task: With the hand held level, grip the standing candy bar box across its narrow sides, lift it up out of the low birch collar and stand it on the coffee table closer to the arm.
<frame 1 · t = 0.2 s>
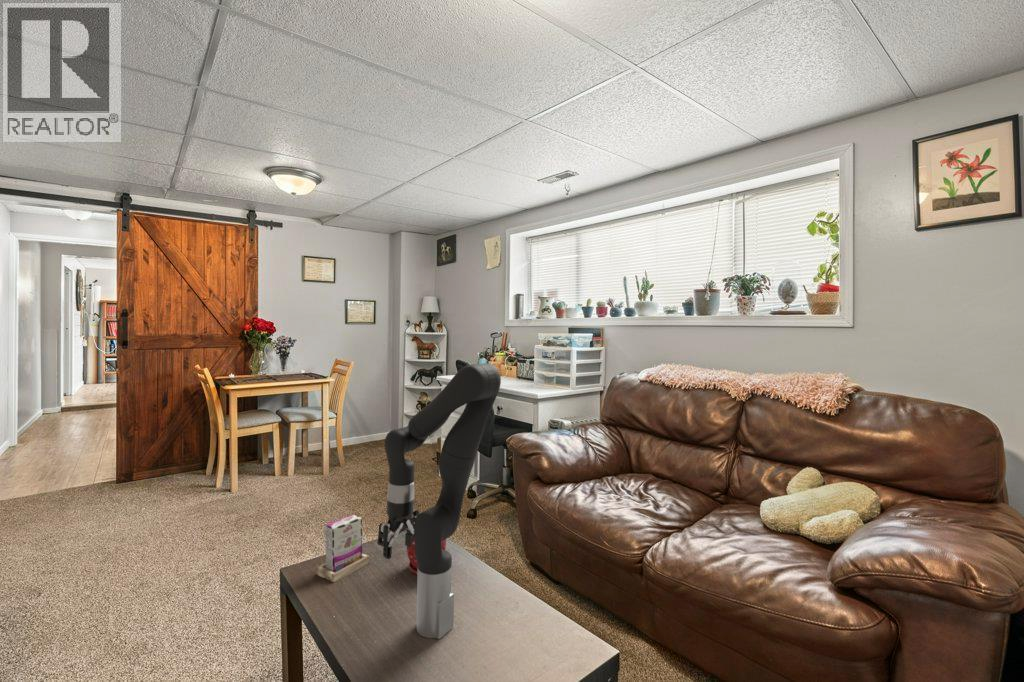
hand: (398, 551, 136), 17 cm above the table, tool pointing down, fingers open, 8 cm apart
plant pot: (426, 569, 160), on the table
candy bar box: (343, 569, 159), resting in birch collar
birch collar: (343, 568, 159), on the table
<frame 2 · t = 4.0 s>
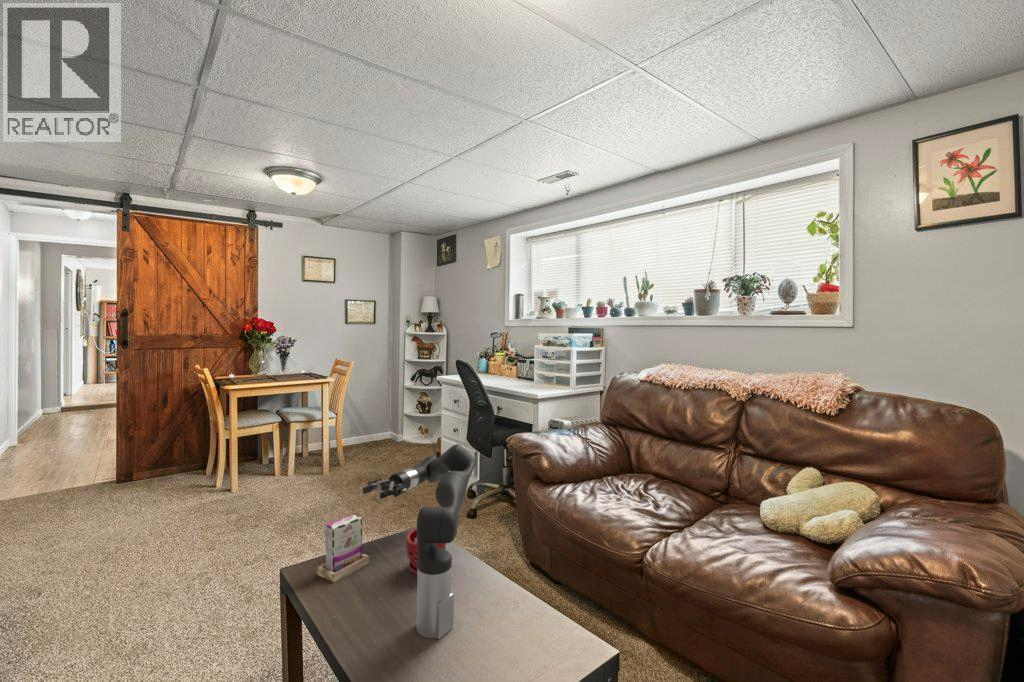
hand: (371, 493, 169), 22 cm above the table, tool horizontal, fingers open, 8 cm apart
nothing on the table moved.
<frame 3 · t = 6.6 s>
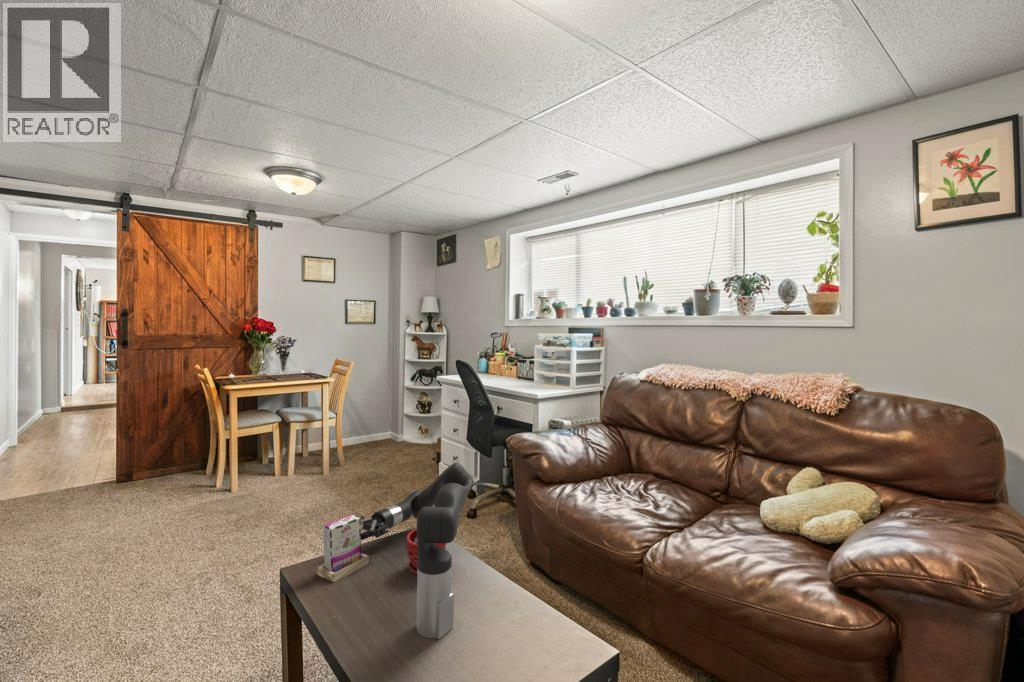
hand: (352, 533, 163), 10 cm above the table, tool horizontal, fingers open, 8 cm apart
candy bar box: (342, 569, 159), resting in birch collar, touching gripper
everything else where it was.
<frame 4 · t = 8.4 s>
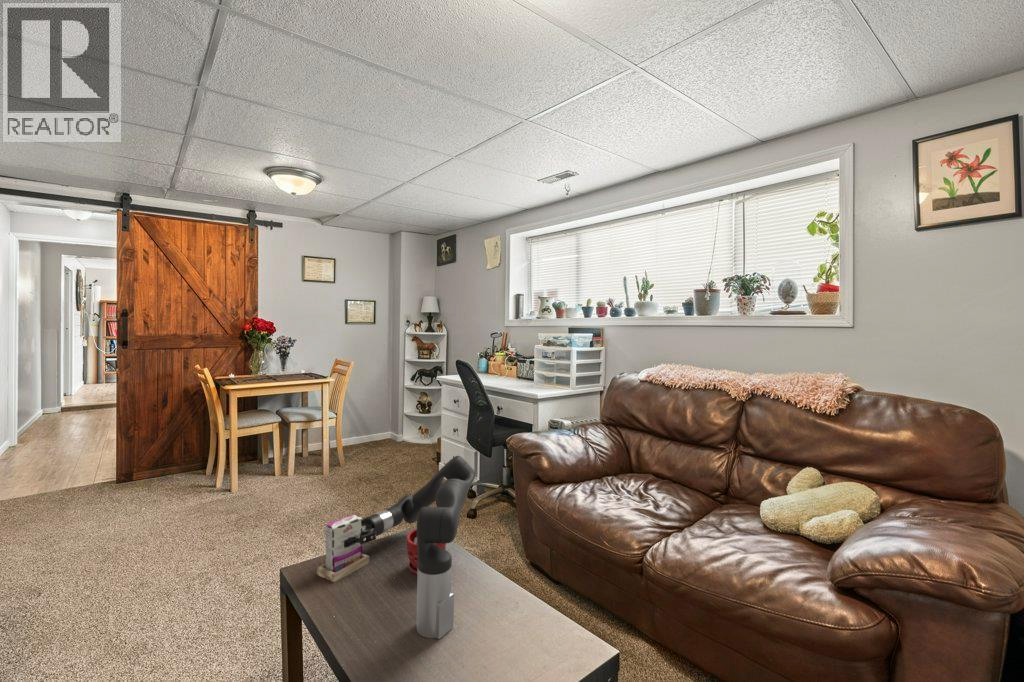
hand: (338, 541, 157), 10 cm above the table, tool horizontal, fingers closed on candy bar box, 5 cm apart
candy bar box: (343, 569, 159), resting in birch collar, touching gripper
everything else where it was.
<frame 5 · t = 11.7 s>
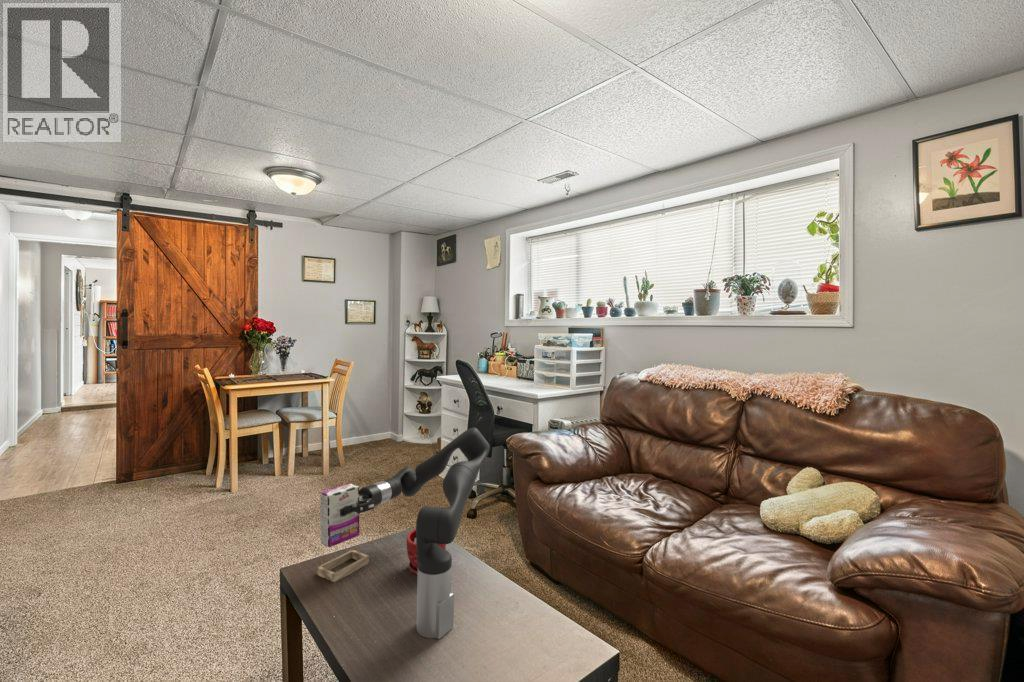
hand: (334, 510, 149), 23 cm above the table, tool horizontal, fingers closed on candy bar box, 5 cm apart
candy bar box: (339, 540, 151), point 13 cm above the table, touching gripper
everything else where it was.
when the fingers open (11 cm above the table, at t = 15.0 s): candy bar box drops 1 cm, on the table.
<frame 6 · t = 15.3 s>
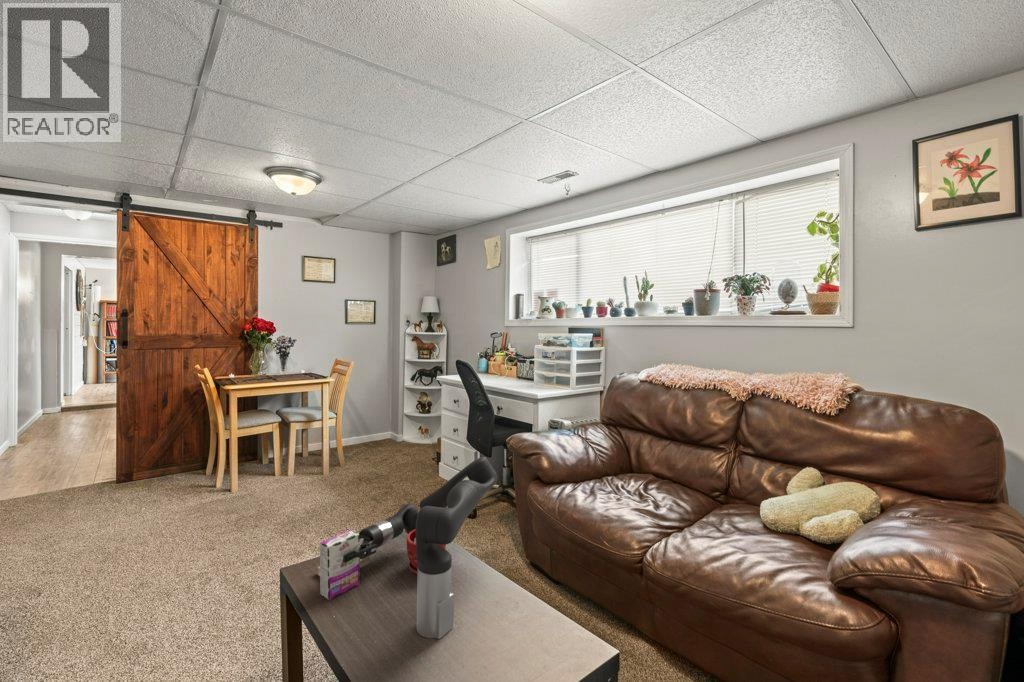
hand: (335, 555, 145), 12 cm above the table, tool horizontal, fingers open, 7 cm apart
candy bar box: (339, 590, 147), on the table
everything else where it was.
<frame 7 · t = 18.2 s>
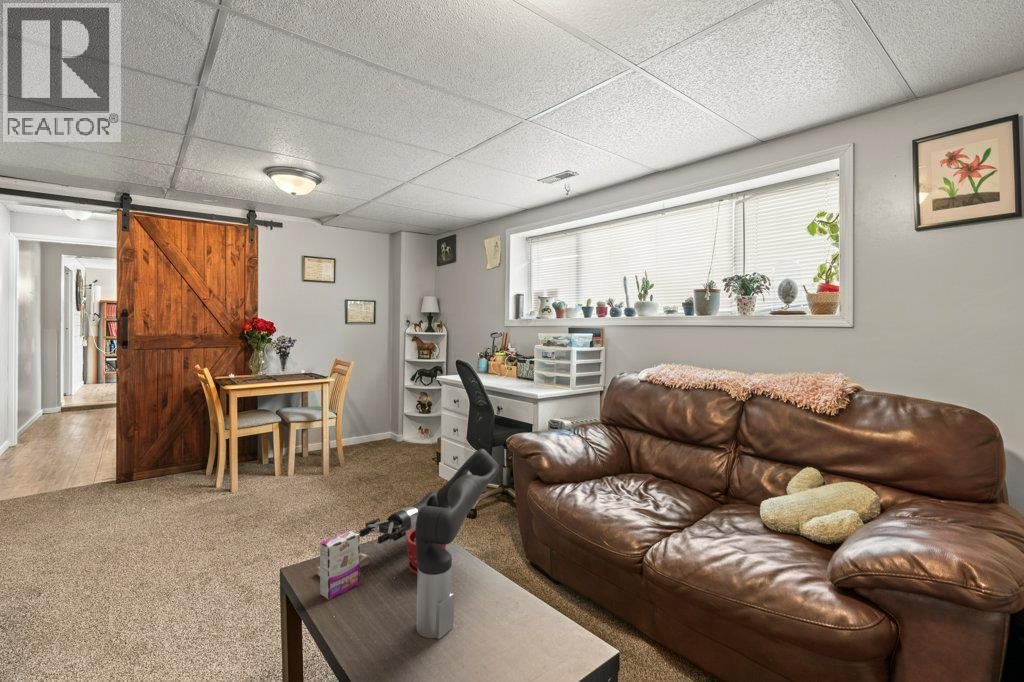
hand: (369, 537, 156), 12 cm above the table, tool horizontal, fingers open, 8 cm apart
nothing on the table moved.
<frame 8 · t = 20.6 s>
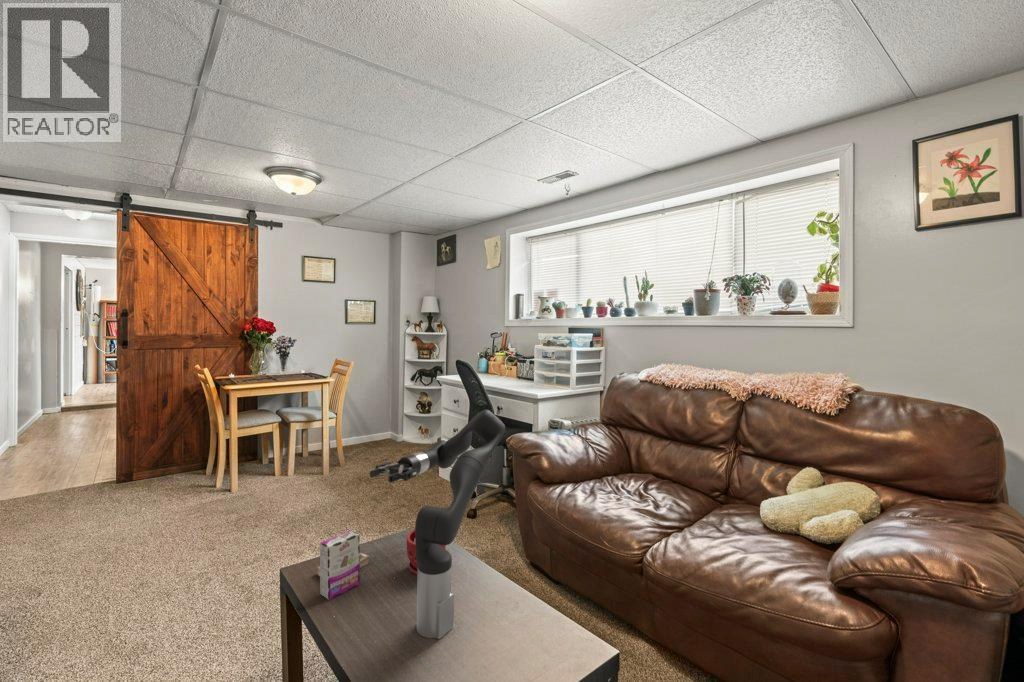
hand: (379, 476, 156), 32 cm above the table, tool horizontal, fingers open, 8 cm apart
nothing on the table moved.
at the end: candy bar box inside the target area (0.1 cm from its centre), on the table; candy bar box tilted 0°; the gripper is holding nothing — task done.
